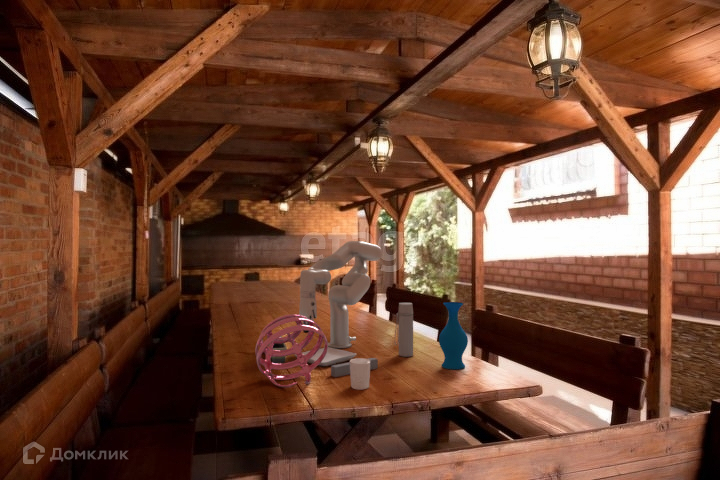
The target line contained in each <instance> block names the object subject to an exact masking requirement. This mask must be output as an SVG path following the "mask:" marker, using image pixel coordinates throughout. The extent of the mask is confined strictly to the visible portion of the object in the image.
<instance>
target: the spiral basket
mask: <svg viewBox="0 0 720 480" xmlns="http://www.w3.org/2000/svg"><path fill="white" fill-rule="evenodd" d="M303 321H306V322H308V324H309V325H304V324H303ZM292 322H295V323H296V324H295V325H291V326H287V327H284V328H282V329H280V330H278V331H276V332H275V333H273V332H272V330H274V329H276V328H278V327H279V326H282V325H285V324H288V323H292ZM303 330H305V331H309V332H308V333H306V336H305V338H304V339H303V340H302V341H301V342H299V343H297V342H296V338H298V337H299V336H300V335H301V333H302V332H303ZM315 333H316V334H318V339H317V341H316V343H315V344H314V346H313V347H312V349H311V350H309V351H310V352H309V353H307V354H306V355H303V354H302V353H303V352H302V351H303V349H305V348H306V347H307V346H308V345H309V344H310V342H311V341H312V339H313V337H314V335H315ZM285 335H286V336H285ZM265 336H266V339H265V340H263V339H264V337H265ZM281 336H282V337H281ZM267 338H268V339H267ZM323 342H324V347H323V348H324V350H323V352H322V354H321V356H320V357H319V358H318V359H317V360H316V361H315V362H314V363H313V364H312V363H311V364H310V365H309V364H308V362H307V361H308V360H309V359H310V358H312V357H313V356H314V355H315V354H316V353H317V351H318V350H319V349H320V348H321V346H322V344H323ZM275 343H279V344H280V343H285V344H286V343H291V345H292V346H291V347H290V348H287V349H286V350H273V345H274V344H275ZM328 343H329V342H328V339H327V336H326V334H325V333H324V332H323V330H322V328H321V326H320V325H319V324H318V323H317V322H316V321H315V320H314V321H313V320H311V319H308V318H307V317H305V316H302V315H299V314H294V313H293V314H292V313H290V314H283V315H282V316H278V317H276V318H275V319H273V320H271V321H270V322H269V323H268V324H266V325H265V326H264V328H263V329H262V331H261V332H260V334H259V337H258V339H257V342H256V344H255V351H254V352H255V356H256V364H257V368H258V369H259V371H260V372H261V374H262V375H263V376H264V377H266V378H267V379H268V380H269V381H270V382H271V383H272V384H273V385H274V386H277V387H279V388H282V389H283V388H284V389H286V388H287V389H288V388H292V387H294V386H295V385H297V382H293V383H289V384H280V383H278V382H277V381H287V380H293V379H297V378H300V377H304V379H305V380H304V384H305V385H307V386H308V385H309V384H310V383H311V382H312V377H311V376H312V375H311V372H312V371H313V370H314V369H315V368H317V367H318V366H320V365H319V364H320V363H321V362H322V360H323V359H324V357H325V355H326V353H327V349H328ZM269 344H270V345H269ZM268 345H269V346H268ZM263 353H264V354H265V359H263V358H262V354H263ZM295 354H296V355H297V358H296V359H295V360H292V361H288V362H284V363H273V361H272V360H271V359H272V358H271V357H272V356H274V357H283V356H286V357H288V356H291V355H295ZM261 365H262V366H263V367H264V369H265V370H264V369H263V368H262V366H261ZM299 366H300V368H301V369H300V370H299V371H297V372H293V373H289V374H274V373H273V372H272V370H287V369H292V368H295V367H299Z"/></svg>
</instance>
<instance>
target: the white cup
mask: <svg viewBox="0 0 720 480" xmlns="http://www.w3.org/2000/svg"><path fill="white" fill-rule="evenodd" d="M349 362H350V374H349V375H350V376H349V377H350V385H351V386H350V387H351V388H352V389H354V390H357V391H359V390H360V391H361V390H362V391H363V390H366V389H369V388H370V378H371V377H370V375H371V370H370V360H369V358H365V357H364V358H363V357H360V358H359V357H357V358H355V357H354V358H351V359H349Z"/></svg>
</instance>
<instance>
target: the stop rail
mask: <svg viewBox="0 0 720 480" xmlns="http://www.w3.org/2000/svg"><path fill="white" fill-rule="evenodd" d="M368 359H369V360H370V371H371V370H376V369H377V370H378V364H379V363H378V358H375V357H370V358H368ZM348 375H350V361H349V362H344V363H343V362H342V363H337V364H333V365H330V376H331V377H334V378H338V377H344V376H348Z"/></svg>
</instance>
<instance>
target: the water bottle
mask: <svg viewBox="0 0 720 480" xmlns="http://www.w3.org/2000/svg"><path fill="white" fill-rule="evenodd" d="M397 310H398V312H397V313H395V314H396V322H395V327H396V329H395V332H394V337H397V336H396V335H397V330H398V342H397V343H396V341H394V344H395V346H397V345H398V356H399V357H403V358H410V357H413V356H414V308H413V303H412V302H398V309H397Z"/></svg>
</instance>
